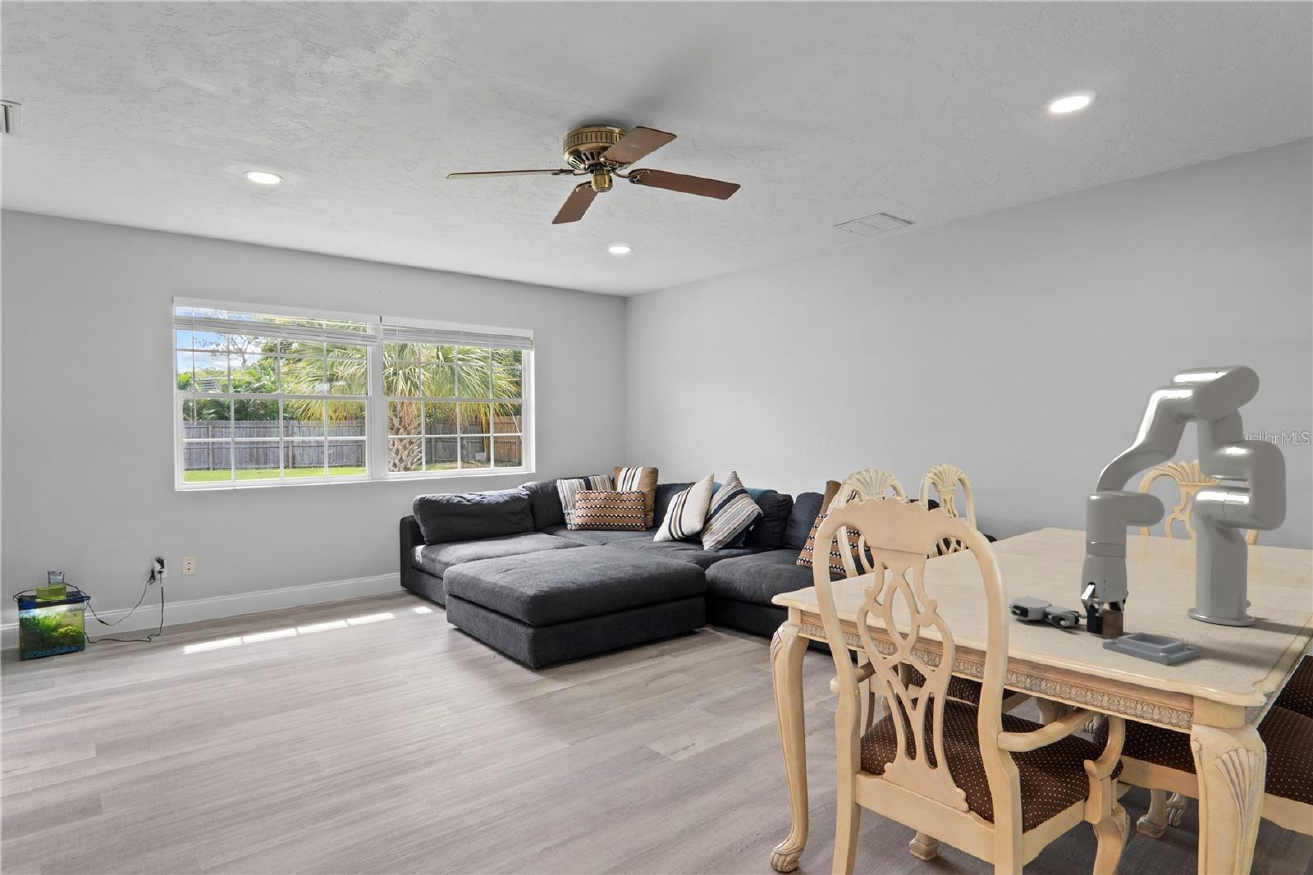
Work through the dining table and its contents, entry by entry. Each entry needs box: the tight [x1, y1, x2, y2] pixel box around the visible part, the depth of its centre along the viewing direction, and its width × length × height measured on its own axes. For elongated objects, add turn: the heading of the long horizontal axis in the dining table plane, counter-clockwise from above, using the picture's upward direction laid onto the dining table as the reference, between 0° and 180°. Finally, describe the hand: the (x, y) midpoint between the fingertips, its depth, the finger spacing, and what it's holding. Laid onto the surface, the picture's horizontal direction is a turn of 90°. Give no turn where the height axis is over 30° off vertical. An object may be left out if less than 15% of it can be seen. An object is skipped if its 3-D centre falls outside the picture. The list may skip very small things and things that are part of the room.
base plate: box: [1102, 631, 1201, 666], centre depth 146 cm, size 12×12×2 cm
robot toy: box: [1008, 595, 1087, 628], centre depth 168 cm, size 12×4×15 cm
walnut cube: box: [1086, 607, 1124, 639], centre depth 159 cm, size 5×5×5 cm
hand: (1104, 630), depth 159 cm, fingers open, 6 cm apart
